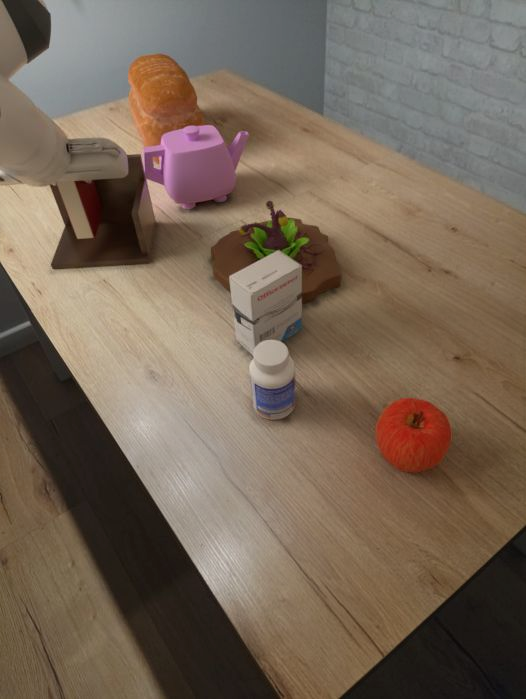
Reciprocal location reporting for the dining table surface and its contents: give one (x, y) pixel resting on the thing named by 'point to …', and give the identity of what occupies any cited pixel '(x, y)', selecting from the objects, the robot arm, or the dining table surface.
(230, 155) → the teapot
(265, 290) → the ink box
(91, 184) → the book
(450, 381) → the dining table surface
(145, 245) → the book stand
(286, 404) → the pill bottle
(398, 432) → the apple
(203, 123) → the bread
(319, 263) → the plant
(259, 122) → the dining table surface
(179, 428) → the dining table surface
